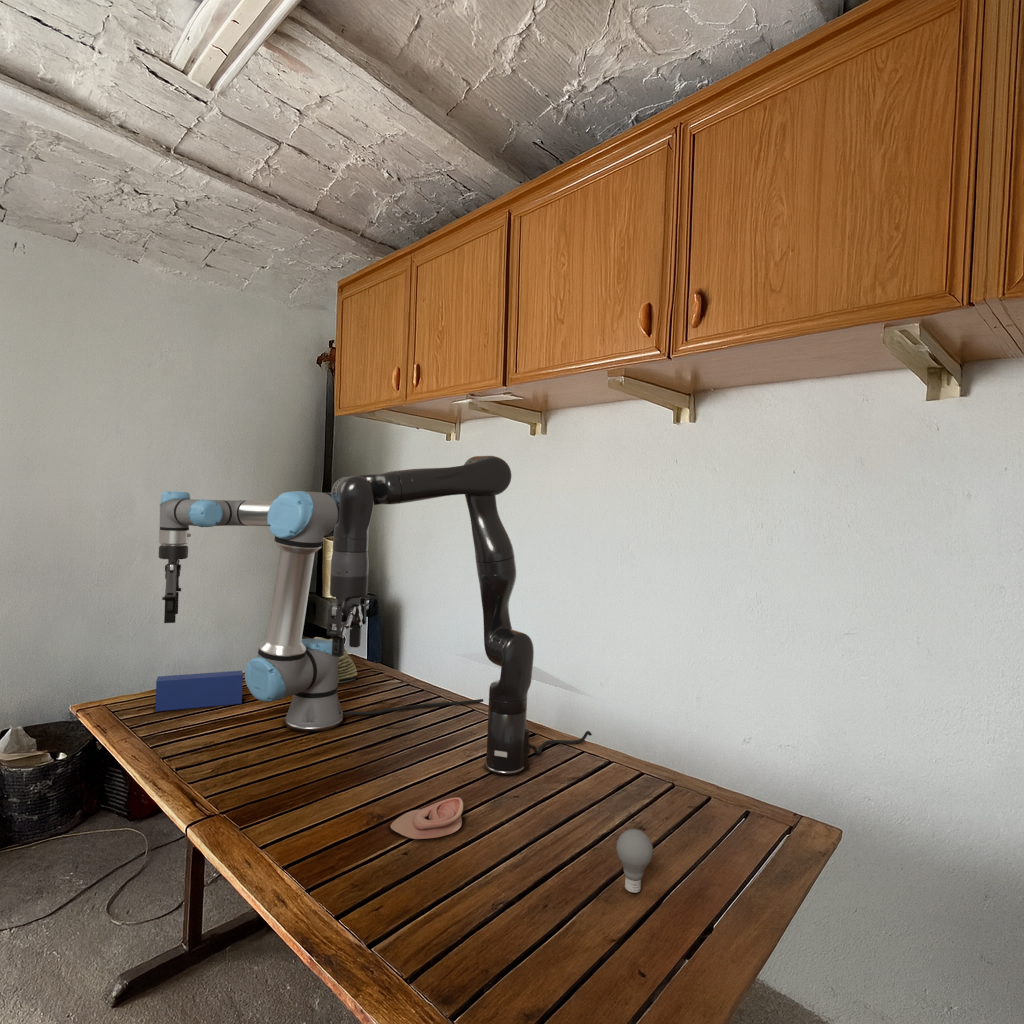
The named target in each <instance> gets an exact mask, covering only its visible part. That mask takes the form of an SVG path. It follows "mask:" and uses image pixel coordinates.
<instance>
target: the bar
mask: <svg viewBox="0 0 1024 1024" xmlns="http://www.w3.org/2000/svg"><path fill="white" fill-rule="evenodd" d="M155 681H156V682H155V707H154V708H155V711H154V712H166V711H176V710H187V709H198V708H208V707H209V708H210V707H219V706H220V707H221V706H231V705H242V704H243V683H244V682H243V681H244V673H243V670H230V671H228V670H227V671H214V672H203V673H188V674H174V675H161V676H160V675H159V676H157V677H156V680H155Z"/></svg>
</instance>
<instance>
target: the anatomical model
mask: <svg viewBox="0 0 1024 1024" xmlns="http://www.w3.org/2000/svg"><path fill="white" fill-rule="evenodd" d="M463 812H464V801H463V799H462V797H450V798H446V799H443V800H440V801H438V802H435V803H433V804H430V805H428V806H426V807H424V808H421V809H413V810H410V811H408V812H405V813H404V814H402V815H400V816H398V817H397V818H395V819H394V820H393V821H392V822H391V824H390V829H391V830H392V831H394V832H395V833H397V834H399V835H401V836H403V837H405V838H409V839H412V840H425V839H427V840H428V839H435V838H441V837H445V836H448V835H452V834H453V833H456V832H457V831H459V830H460V829H461V827H462V825H463V819H462V814H463Z"/></svg>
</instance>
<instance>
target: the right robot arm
mask: <svg viewBox="0 0 1024 1024" xmlns="http://www.w3.org/2000/svg"><path fill="white" fill-rule="evenodd" d="M512 477H513V476H512V470H511V468H510V465H509V464H508V463H507V462H506V461H505V460H504V459H503V458H501V457H498V456H494V455H474V456H472V457H469V458H468V459H467V460H466V461H465V462H464V464H462V465H456V466H449V467H447V466H446V467H428V468H426V467H423V468H409V469H401V470H393V471H386V472H382V473H377V474H359V475H346V476H343V477H341V478H338V479H337V480H336V481H335V482H334V483H333V485H332V488H331V491H330V493H331V495H332V499H333V501H334V502H335V503H336V504H337V505H338V506H339V507H340V512H339V521H338V523H337V524H336V526H335V528H334V534H333V535H332V536H333V537H332V540H333V541H332V554H331V560H330V579H329V583H330V584H329V595H330V596H331V597H333V598H336V603H335V605H331V604H330V605H328V609H327V622H326V624H327V625H326V636H327V637H330V638H331V639H332V656H335V657H341V656H343V655H344V649H345V636H346V632H347V630H348V629H349V628H350V629H349V639H348V642H349V643H348V646H349V648H359V647H360V646H361V637H362V629H363V627H364V625H366V623H367V597H366V596H367V595H368V591H369V567H370V566H369V562H370V561H369V552H368V551H369V528H370V524H371V521H372V516H373V511H374V506H378V505H400V504H406V503H413V502H420V501H424V500H425V501H426V500H431V499H437V498H442V497H449V496H459V495H464V497H465V501H466V506H467V509H468V514H469V519H470V526H471V534H472V541H473V548H474V558H475V565H476V572H477V578H478V584H479V591H480V599H481V607H482V617H483V644H484V645H483V646H484V651H485V656H486V657H487V659H488V661H490V662H491V663H492V664H494V665H496V666H499V667H500V677H499V679H497V680H495V681H493V682H491V683H490V684H489V689H488V709H487V711H488V713H487V731H486V735H487V736H486V757H485V769H486V770H487V771H488V772H490V773H492V774H496V775H500V776H513V775H516V774H517V775H518V774H520V773H522V772H523V771H525V770H528V765H529V755H530V754H531V753H530V752H531V749H532V750H533V753H534V754H535V755H537V756H539V755H540V754H541V753H542V752H543V749H544V748H545V747H546V746H548V745H552V744H563V745H564V744H565V745H575V744H581V743H582V742H584V741H585V740H586V738H587V737H588V736H593V734H592V732H591V731H590V730H586V731H585V732H584V733H583V736H582V737H581V738H578V739H572V740H571V739H570V740H568V739H550V740H546V741H544V742H543V743H541V745H540V746H539V748H538V749H537V747H536V746H535V745H534V744H531V743H530V729H529V728H527V712H528V711H527V710H528V692H529V690H530V687H531V684H532V680H533V679H532V678H533V670H534V669H533V668H534V658H535V649H534V643H533V641H532V638H531V637H530V636H529V635H528V634H527V633H525V632H522V631H518V630H515V629H513V627H512V623H511V622H512V621H511V615H510V600H511V597H512V594H513V591H514V588H515V585H516V581H517V566H516V565H517V564H516V559H515V558H516V557H515V551H514V547H513V544H512V541H511V539H510V536H509V534H508V532H507V530H506V527H505V526H504V523H503V522H502V519H501V517H500V515H499V511H498V506H497V496H498V495H500V494H502V493H504V492H505V491H506V490H507V489H508V488H509V487H510V484H511V481H512Z"/></svg>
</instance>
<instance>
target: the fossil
mask: <svg viewBox="0 0 1024 1024" xmlns="http://www.w3.org/2000/svg"><path fill="white" fill-rule="evenodd" d="M313 639H322V640H329V641H332V638H329V639H328V638H324V637H319V636H315V637H313ZM357 670H358V669H357V667H356V664H355V663H354V661H353V659H352V658H351V657H350V656H349V653H348V652H347V650H346V648H344V655H343V656H341V657H339V664H338V684H341V683H342V684H343V683H347V682H352V681H355V680H356V679H357V677H358V675H359V674H358V671H357Z"/></svg>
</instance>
